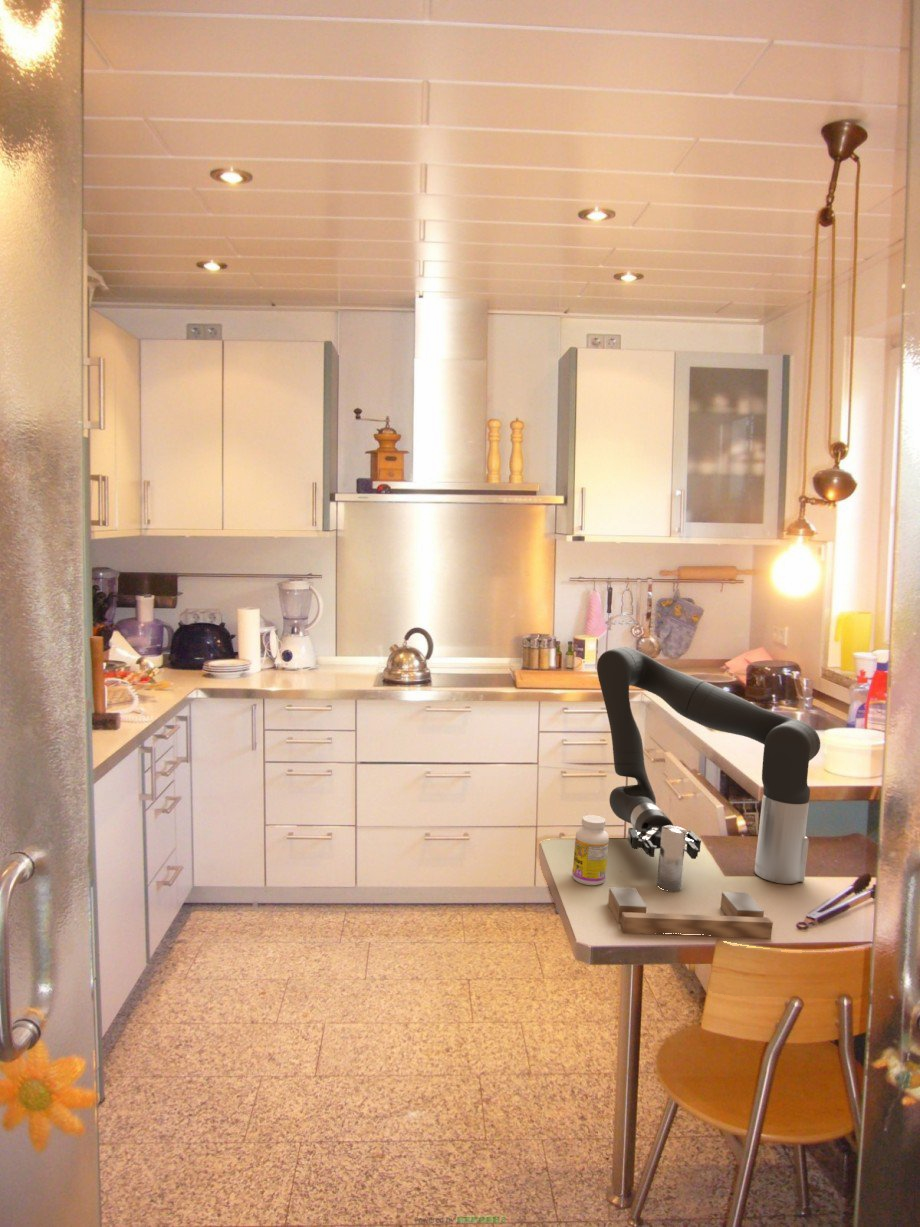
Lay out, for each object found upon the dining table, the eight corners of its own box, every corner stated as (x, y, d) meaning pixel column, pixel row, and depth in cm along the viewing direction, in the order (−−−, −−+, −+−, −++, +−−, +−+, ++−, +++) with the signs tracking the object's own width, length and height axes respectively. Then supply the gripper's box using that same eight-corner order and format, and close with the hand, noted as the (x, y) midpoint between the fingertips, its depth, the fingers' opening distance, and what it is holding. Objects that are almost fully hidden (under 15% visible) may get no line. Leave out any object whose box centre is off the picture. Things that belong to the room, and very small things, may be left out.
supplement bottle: (569, 872, 185) (574, 812, 184) (600, 873, 186) (605, 813, 184) (575, 886, 179) (581, 823, 177) (608, 887, 179) (614, 825, 178)
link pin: (676, 882, 184) (682, 825, 182) (683, 892, 179) (689, 834, 178) (653, 881, 184) (658, 824, 182) (660, 891, 179) (665, 833, 177)
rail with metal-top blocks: (745, 908, 173) (747, 892, 173) (770, 938, 161) (772, 920, 161) (608, 903, 171) (609, 887, 171) (623, 933, 159) (625, 915, 159)
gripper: (621, 806, 194) (640, 833, 178) (685, 809, 195) (710, 836, 179) (617, 840, 195) (637, 870, 179) (682, 842, 196) (706, 872, 180)
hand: (673, 853), depth 179 cm, fingers open, 8 cm apart
